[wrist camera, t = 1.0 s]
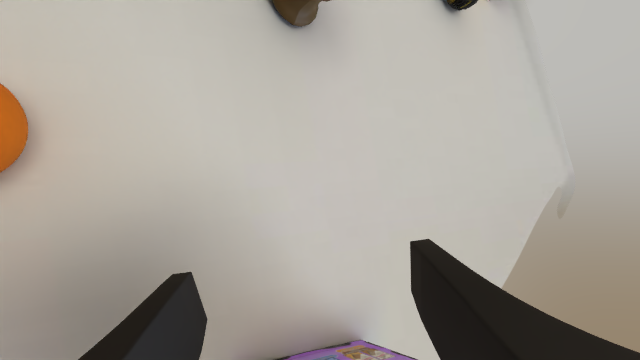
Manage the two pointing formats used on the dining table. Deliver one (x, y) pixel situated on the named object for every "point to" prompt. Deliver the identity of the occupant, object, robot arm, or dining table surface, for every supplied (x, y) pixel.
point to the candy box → (351, 353)
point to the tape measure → (461, 4)
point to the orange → (11, 128)
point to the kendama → (298, 10)
